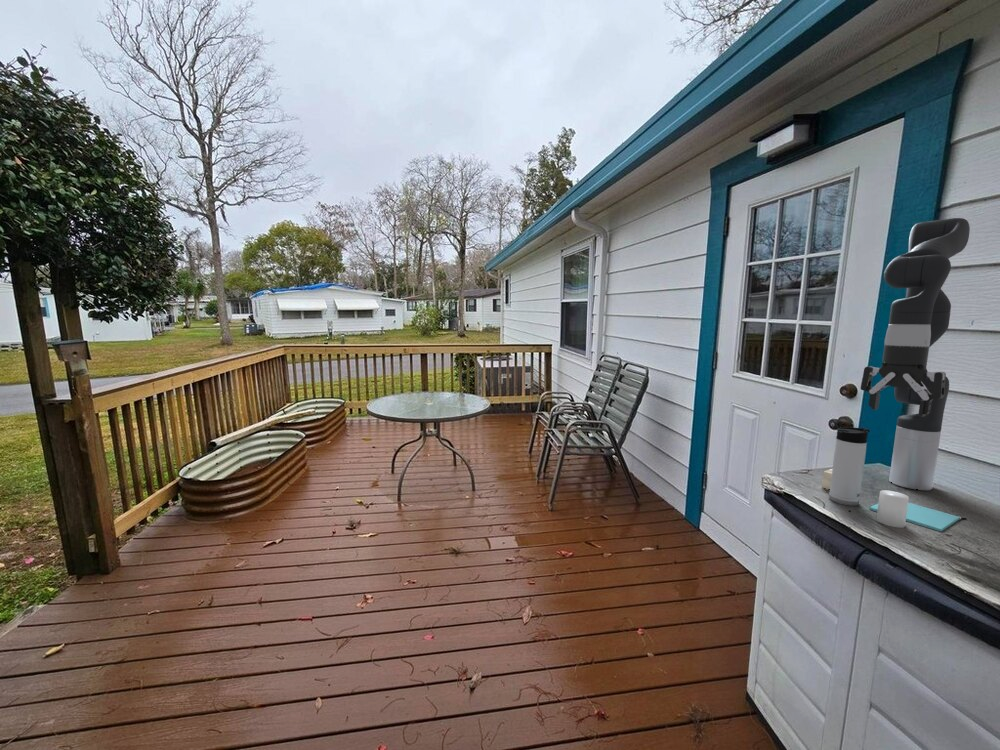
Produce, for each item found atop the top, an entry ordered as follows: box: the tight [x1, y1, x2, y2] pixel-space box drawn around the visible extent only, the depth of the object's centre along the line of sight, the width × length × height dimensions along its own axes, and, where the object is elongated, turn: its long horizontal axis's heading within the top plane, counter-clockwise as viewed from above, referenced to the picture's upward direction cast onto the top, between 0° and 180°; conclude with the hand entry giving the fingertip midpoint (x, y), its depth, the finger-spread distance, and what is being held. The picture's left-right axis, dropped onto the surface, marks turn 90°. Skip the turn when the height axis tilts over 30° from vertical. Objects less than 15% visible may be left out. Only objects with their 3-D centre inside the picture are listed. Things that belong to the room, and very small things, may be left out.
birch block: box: [821, 468, 832, 490], centre depth 120 cm, size 5×5×5 cm
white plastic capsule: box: [876, 489, 910, 529], centre depth 99 cm, size 5×5×7 cm
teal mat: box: [869, 502, 961, 533], centre depth 104 cm, size 13×13×1 cm
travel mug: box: [828, 426, 870, 507], centre depth 111 cm, size 6×7×20 cm
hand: (897, 412), depth 99 cm, fingers open, 8 cm apart
